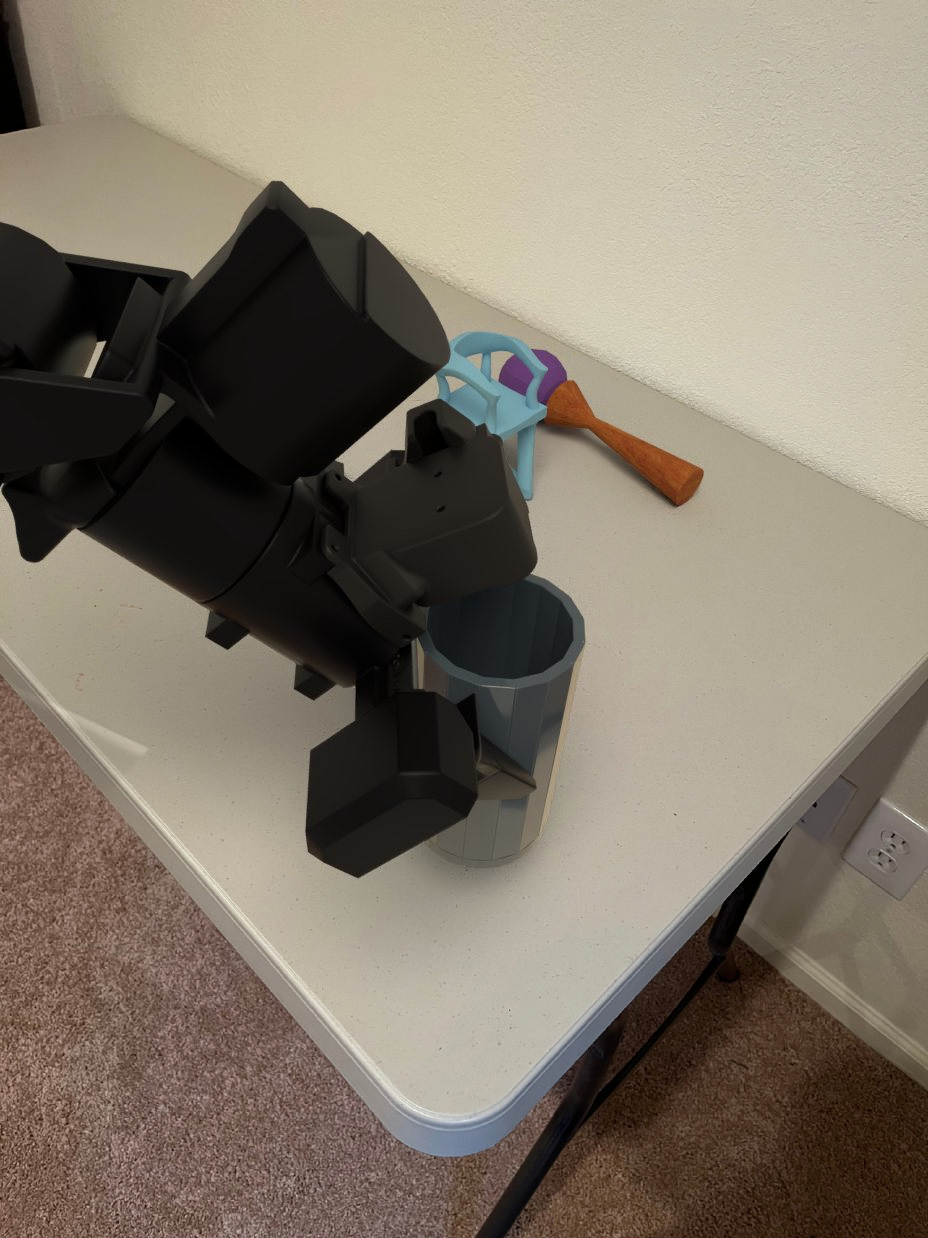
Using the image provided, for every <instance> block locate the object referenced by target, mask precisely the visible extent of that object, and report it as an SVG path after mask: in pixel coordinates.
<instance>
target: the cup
mask: <svg viewBox="0 0 928 1238" xmlns="http://www.w3.org/2000/svg"><path fill="white" fill-rule="evenodd" d="M419 609H420V610H421V611H422V612H424V613H425V614H426V630H427V631H426V632H425V633H423V634H422V635H420V636H419V637H418V638H417V655H418V676H419V689H424V690H426V691H427V692H434V691H435V692H437V693H438V694H440V695H441V696H443V697H444V698H446V699H447V700H449V701H450V702H452V703H453V704H457V703H458V702H460V701H462V700H463V699H465V698H466V697H468V696H469V695H471V694H473V693H474V694H475V695H476V700H477V709H478V719H479V728H480V733H481V734H482V735H483V736H484V737H486V738H487V739H488V740H489V741H491V742H492V743H493V744H494V745H496V746H497V747H498V748H499V749H501V750H502V751H503V752H504V753H506V754H507V755H508V756H509V757H511V758H512V759H513V760H515V761H516V762H517V763H518V764H519V765H521V766H522V767H523V768H524V769H525V770H526V771H527V772H528V773H529V774H530V775H531V776H532V777H533V778H534V779H535V781H536V785H537V789H536V790H535V791H533V792H532V793H530V794H528V795H526V796H524V797H523V798H520V799H501V800H476V802H475V804H474V806H473V808H472V809H471V811H470V813H469V815H468V817H467V818H465V819H464V820H462V821H460V822H458V823H456V824H455V825H453V826H451V827H449V828H448V829H446V830H444V831H442V832H440V833H439V834H437V835H435V836H433V837H431V838H430V839H428V840H426V841H424V842H423V843H424V844H425V846H426V847H427V848H429V849H430V850H431V852H433V853H435V855H437V856H438V857H440V858H441V859H444V860H446V861H447V862H449V863H452V864H455V865H457V866H460V867H465V868H471V869H494V868H499V867H502V866H506V865H509V864H512V863H513V862H516V861H517V860H520V859H521V858H522V857H524V856H525V855H527V854H529V852H531V850H533V848H534V847H535V846H536V845H537V844H538V843H539V841H540V839H541V837H542V835H543V833H544V831H545V828H546V823H547V820H548V818H549V816H550V811H551V806H552V802H553V797H554V793H555V788H556V784H557V779H558V775H559V769H560V764H561V759H562V755H563V750H564V746H565V742H566V736H567V731H568V726H569V722H570V719H571V713H572V708H573V703H574V699H575V694H576V689H577V685H578V679H579V676H580V675H579V674H580V671H581V666H582V661H583V657H584V652H585V647H586V642H587V641H586V640H587V639H586V623H585V617H584V615H582V612H581V611H580V609H579V607H578V606H577V604H576V603H575V601H574V600H573V598H572V596H570V595H569V594H568V593H566V592H565V591H563V590H562V589H561V588H559V587H558V586H557V585H555V584H554V583H553V582H552V581H550V580H549V579H547V578H544V577H541V576H539V575H536V574H533V573H531V574H530V575H528V576H527V577H526V578H525V579H523V580H522V581H520V582H518V583H515V584H512V585H509V586H507V587H500V586H493V587H490V588H487V589H485V590H482V591H479V592H476V593H473V594H470V595H467V596H464V597H461V598H458V599H455V600H452V601H449V602H446V603H444V604H441V605H437V606H433V607H421V606H419Z"/></svg>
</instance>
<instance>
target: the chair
mask: <svg viewBox="0 0 928 1238" xmlns="http://www.w3.org/2000/svg"><path fill="white" fill-rule="evenodd" d="M448 342H449V345H450V350H451V356H450V360H449V363H448V364H446V365H445V366H444V367H443V368H442V369H441V370H439V371H438V372H437V373H436V374H435V375H434V376H435V378H436V381H437V385H438V394H437V398H439V399H442V400H444V401H445V402H446V403H448V404H449V405H450V406H452V407H453V408H455V409H456V410H457V411H459V412H460V413H462V414H463V415H464V416H466V417H467V418H469V419H470V420H471V421H472V422H473V423H474V424H475V426H478V425H480V424H483V423H486V425H487V428H488V430H489V432H490V433H492V434H497V435H499V436H500V437H501V438H502V440H503V443H504V442H505V441H506V440H508V439H509V438H511V437H512V436H513V435H515V434H516V440H517V441H516V443H517V446H516V447H517V456H516V457H517V460H516V461H517V464H516V465H517V467H516V470H515V469H514V468H513V467H512V466H511V465H510V467H511V469H512V472H513V474H514V476H515V478H516V481H517V483H518V485H519V487H520V490H521V492H522V494H523V496H524V498H525V501H526V500H527V501H529V500H531V499H533V496H534V495H533V494H534V493H533V491H534V490H533V489H534V487H533V486H534V485H533V484H534V483H533V482H534V455H535V453H534V451H535V439H536V438H535V436H536V429H537V425H538V422H540V421H542V420H544V418H545V417H546V414H547V406H545V405H543V404H541V403H539V402H538V400H537V391H538V388H539V385H540V383H541V381H542V379H543V377H544V376H545V374H546V372H547V370H548V368H547V367H546V366H545V365H543V364H542V363H541V362H540V361H539V360H538V358H537V357H536V356H535V354H534V353H533V352H532V350H531V349H532V348H530V347H529V345H528V344H527V343H526V342H525V341H523V340H522V339H519V338H518V337H514V336H510V335H506V334H502V333H498V332H492V331H485V330H484V331H482V330H474V331H466V332H464V333H460V334H458V335H457V336H455V337H454V338H453V339H451V340H450V341H448ZM496 352H508V353H510V354H513V355H514V354H515V355H516V356H517V357H519V358H520V359H521V360H522V361H523V362H524V364H525V365H526V366H527V367H528V368H529V370H530V371H531V372H532V374H533V375H534V378H533V380H532V381H531V383H530V385H529V387H528V389H527V392H526V397H525V396H523V395H521V394H519V393H517V392H515V391H513V390H511V389H509V388H507V387H506V386H504V385H503V384H501V383H499V382H498V380H497V379H494V378H492V353H496ZM480 354H481V363H480V369H479V368H478V367H477V366H476V364H474V362H472V361H471V360H470V359H468V358H469V357H472V356H474V355H480ZM447 377H450V378H455V379H458V380H461V381H462V382H463V383H465V384H464V385H462V386H461V387H459V388H456V389H455V390H453V391H451V387H450V384H449V382H448V380H447Z"/></svg>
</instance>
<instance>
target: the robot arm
mask: <svg viewBox="0 0 928 1238" xmlns="http://www.w3.org/2000/svg"><path fill="white" fill-rule="evenodd" d="M102 342H104V345H103V348H102V350H101V352H100V354H99V357H98V359H97V362H96V364H95V366H94V368H93V370H92V373H91V375H90V377H87V376H86V373H87V371H88V368H89V367H90V363H91V361H92V359H93V356H94V353H95V351H96V349H97V345H98V343H102ZM449 342H450V341H449V338H448V336H447V332H446V331H445V328H444V326H443V325H442V322H441V320H440V318H439V316H438V314H437V313H436V311H435V309H434V307H433V306H432V304H431V303H430V301H429V299H428V298H427V296H426V294H424V292H423V291H422V289H421V288H420V287H419V285H418V283H417V282H416V281H415V280H414V278H413V276H412V275H411V274H410V273H409V272H408V270H407V269H406V268H405V267H404V266H403V264H402V263H401V262H400V261H399V260H398V259H397V258H396V257H395V255H394V254H392V252H391V250H389V249H388V247H386V246H385V245H384V243H383V242H381V241H380V239H379V238H377V237H376V236H375V235H374V234H373V233H372V232H371V231H368V230H367V231H366V232H365V233H362V232H361V231H360V230H358V229H357V228H356V227H354V226H353V225H352V224H351V223H350V222H348V221H347V220H346V219H343V217H340V215H338V214H336V213H335V212H332V211H330V210H328V209H325V208H324V207H323V208H322V207H314V206H311V207H309V205H308V204H306V203H305V202H304V200H302V199H301V198H300V197H299V195H298V194H296V193H295V192H294V191H293V190H292V189H291V188H290V187H289V186H288V185H287V184H286V183H285V182H284V181H282V180H271V181H270V182H269V183H268V184H267V185H266V186H265V187H264V188H263V190H262V191H261V192H259V194H258V195H257V196H256V197H255V198H254V200H253V201H252V202H251V203H250V204H249V205H248V207H246V209H245V211H244V212H243V214H242V216H241V218H240V220H239V223H238V224H237V227H236V228H235V231H234V232H233V233H232V235H231V236H230V237H229V238H228V240H226V242H225V243H224V244H223V245H222V246H221V247H220V248H219V250H218V251H216V253H214V255H213V256H212V257H211V258H210V259H209V261H207V263H206V264H205V265H204V266H203V267H202V268H201V269H200V270H199V271H198V272H197V274H196V275H194V277H193V278H191V276H190V275H189V274H188V273H187V272H186V271H183V270H178V269H172V268H165V267H161V266H160V267H159V266H152V265H146V264H139V263H133V262H127V261H120V260H113V259H106V258H101V257H94V256H87V255H81V254H75V253H68V252H61V251H58V250H57V249H55V248H54V247H53V246H51V245H50V244H49V243H48V242H47V241H45V240H44V239H42V238H40V237H38V236H36V235H35V234H33V233H31V232H28V231H27V230H25V229H23V228H21V227H19V226H16V225H14V224H10V223H6V222H2V221H0V492H1V495H2V497H3V499H4V500H5V501H6V502H7V504H8V506H9V509H10V512H11V513H12V517H13V521H14V529H15V537H16V541H17V545H18V551H19V555H20V557H21V558H22V559H23V560H24V561H26V562H28V563H30V564H31V563H33V564H36V563H41V562H42V561H43V560H44V559H45V558H46V557H48V556H49V555H50V553H52V552H53V550H55V548H57V547H58V545H60V543H61V542H63V541H64V539H65V538H66V537H67V536H68V535H69V534H71V532H73V531H74V530H77V531H78V532H80V533H82V534H84V535H85V536H87V537H89V538H90V539H92V540H94V541H95V542H97V543H99V544H100V545H102V546H103V547H105V548H107V549H108V550H109V551H112V552H114V554H116V555H118V556H120V557H121V558H122V559H125V560H126V561H128V562H130V563H131V564H133V565H135V566H136V567H137V568H139V569H141V570H142V571H144V572H146V573H147V574H149V575H151V576H152V577H153V578H156V579H157V580H159V581H160V582H162V583H164V584H166V585H167V586H169V587H170V588H171V589H174V590H175V591H176V592H178V593H181V594H182V595H183V596H185V597H187V598H188V599H190V600H192V601H193V602H194V603H196V604H198V605H199V606H201V607H203V608H204V609H206V610H207V611H209V612H208V617H207V623H206V629H205V634H204V638H206V639H207V640H209V641H211V642H213V643H214V644H216V645H218V646H219V647H221V648H223V649H224V650H226V651H229V650H231V648H233V647H234V646H235V645H237V644H238V643H239V642H241V641H242V640H243V639H244V638H245V637H247V636H248V635H249V636H250V637H252V638H253V639H255V640H257V641H259V642H260V643H262V644H263V645H265V646H267V647H268V648H270V649H272V651H274V652H276V653H278V654H280V655H281V656H283V657H285V658H286V659H288V660H290V661H291V662H292V663H294V664H295V668H294V681H293V690H294V691H296V692H298V693H299V694H300V695H303V696H304V697H306V698H308V699H309V700H311V701H313V702H314V701H316V700H317V699H318V698H319V699H320V697H322V696H323V695H324V694H326V693H327V692H328V691H330V690H331V689H333V688H334V687H336V686H339V687H341V688H342V689H349V688H352V689H354V690H355V692H354V693H355V694H354V696H355V697H354V698H355V699H354V720H353V721H351V722H350V723H348V724H347V725H346V726H344V727H343V728H341V729H340V730H338V731H337V732H335V733H334V734H332V735H331V736H329V737H328V738H327V739H325V740H323V741H322V742H320V743H319V744H317V745H315V746H314V747H312V748H311V749H310V750H309V761H308V776H307V777H308V781H307V795H306V810H305V811H306V813H305V827H304V828H305V829H304V833H305V839H306V840H305V842H306V850H307V853H309V854H310V855H311V856H313V857H314V858H316V860H318V861H320V862H322V863H323V864H325V865H327V866H329V867H332V868H334V869H336V870H338V871H341V872H344V873H345V874H348V875H350V876H352V877H353V878H356V879H360V878H362V877H364V876H366V875H367V874H369V873H371V872H373V871H374V870H376V869H378V868H380V867H382V866H383V865H385V864H387V863H388V862H391V861H392V860H394V859H396V858H398V857H399V856H401V855H403V854H405V853H407V852H408V851H411V850H412V849H413V848H414V849H415V848H416V847H418V846H419V845H421V844H423V843H424V841H426V840H428V839H430V838H431V837H433V836H435V835H437V834H439V833H440V832H442V831H444V830H446V829H448V828H449V827H451V826H453V825H455V824H456V823H458V822H460V821H462V820H464V819H465V818H467V817H468V815H469V813H470V811H471V809H472V808H473V806H474V804H475V802H476V800H501V799H520V798H523V797H524V796H526V795H528V794H530V793H532V792H533V791H535V790H536V789H537V785H536V781H535V779H534V778H533V777H532V776H531V775H530V774H529V773H528V772H527V771H526V770H525V769H524V768H523V767H522V766H521V765H519V764H518V763H517V762H516V761H515V760H513V759H512V758H511V757H509V756H508V755H507V754H506V753H504V752H503V751H502V750H501V749H499V748H498V747H497V746H496V745H494V744H493V743H492V742H491V741H489V740H488V739H487V738H486V737H484V736H483V735H482V734H481V733H480V728H479V719H478V709H477V700H476V695H475V694H474V693H473V694H471V695H469V696H468V697H466V698H465V699H463V700H462V701H460V702H458V703H457V704H453V703H452V702H450V701H449V700H447V699H446V698H444V697H443V696H441V695H440V694H438V693H437V692H435V691H434V692H427V691H426V690H424V689H419V676H418V655H417V638H418V637H419V636H420V635H422V634H423V633H425V632H426V631H427V630H426V614H425V613H424V612H422V611H421V610H420V609H419V606H421V607H433V606H437V605H441V604H444V603H446V602H449V601H452V600H455V599H458V598H461V597H464V596H467V595H470V594H473V593H476V592H479V591H482V590H485V589H487V588H490V587H493V586H500V587H507V586H509V585H512V584H515V583H518V582H520V581H522V580H523V579H525V578H526V577H527V576H528V575H530V574H532V572H534V571H535V568H536V567H537V564H538V562H539V561H538V559H539V558H538V557H539V555H538V550H537V547H536V544H535V540H534V534H533V530H532V525H531V519H530V515H529V514H530V509H529V505H528V503H527V501H526V499H525V498H524V496H523V494H522V492H521V490H520V487H519V485H518V483H517V481H516V478H515V476H514V474H513V472H512V469H511V467H512V466H511V464H510V462H509V460H508V458H507V456H506V450H505V444H504V442H503V440H502V438H501V437H500V436H499V435H497V434H492V433H490V432H489V430H488V428H487V425H486V423H483V424H480V425H478V426H475V424H474V423H473V422H472V421H471V420H470V419H469V418H467V417H466V416H464V415H463V414H462V413H460V412H459V411H457V410H456V409H455V408H453V407H452V406H450V405H449V404H448V403H446V402H445V401H444V400H442V399H439V398H438V397H436V398H435V399H432V400H430V401H427V402H425V403H421V404H420V405H418V406H415V407H412V408H410V409H408V410H407V411H406V413H405V414H406V416H405V432H404V449H390V450H389V451H388V452H386V453H385V454H384V455H383V456H382V457H381V458H379V459H378V460H377V461H376V462H375V463H373V464H372V465H371V466H370V467H369V468H368V469H366V470H365V471H363V473H362V474H360V475H359V476H358V477H357V478H356V479H354V480H351V479H349V478H348V477H346V476H345V474H344V475H343V474H342V473H340V472H339V471H338V470H336V469H330V470H329V471H327V470H325V469H326V468H327V467H328V466H329V465H330V464H331V463H332V462H334V461H337V459H338V458H339V457H341V456H342V455H343V454H345V453H346V452H347V451H348V450H349V449H350V448H351V447H352V446H353V445H355V444H356V443H357V442H358V441H359V440H361V439H362V438H363V437H364V436H365V435H367V434H368V433H369V432H370V431H371V430H372V429H373V428H374V427H376V426H377V425H378V424H379V423H380V422H381V421H383V420H384V419H385V418H386V417H387V416H388V415H390V414H391V413H392V412H393V411H394V410H396V409H397V408H398V407H399V406H400V405H401V404H403V402H405V401H407V399H408V398H410V397H411V396H412V395H413V394H414V393H415V392H416V391H418V390H419V389H420V388H421V387H422V386H423V385H424V384H426V383H427V382H428V381H429V380H430V379H431V378H433V377H434V376H436V375H435V374H436V373H437V372H438V371H439V370H441V369H442V368H443V367H444V366H445V365H446V364H448V363H449V360H450V356H451V350H450V345H449ZM510 466H511V467H510ZM300 477H304V478H303V479H300Z"/></svg>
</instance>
